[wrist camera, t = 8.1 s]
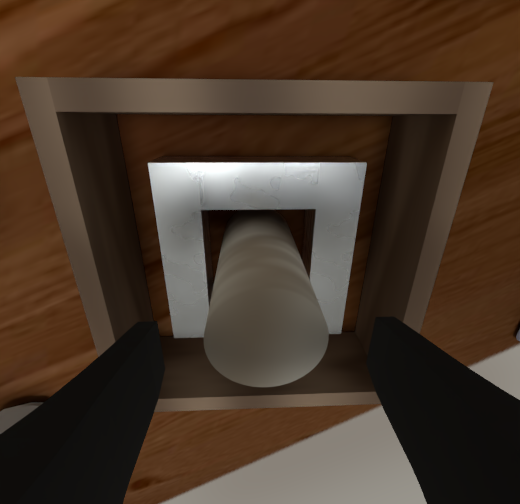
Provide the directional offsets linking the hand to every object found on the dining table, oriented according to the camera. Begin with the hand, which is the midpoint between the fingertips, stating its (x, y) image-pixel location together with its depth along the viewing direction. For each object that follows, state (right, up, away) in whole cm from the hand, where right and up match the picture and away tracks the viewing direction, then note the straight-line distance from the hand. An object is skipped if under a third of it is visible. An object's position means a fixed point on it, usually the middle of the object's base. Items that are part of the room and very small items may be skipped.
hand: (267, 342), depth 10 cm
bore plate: (0, +4, +8) cm, 9 cm away
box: (0, +4, +8) cm, 9 cm away
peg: (0, +4, +8) cm, 9 cm away
